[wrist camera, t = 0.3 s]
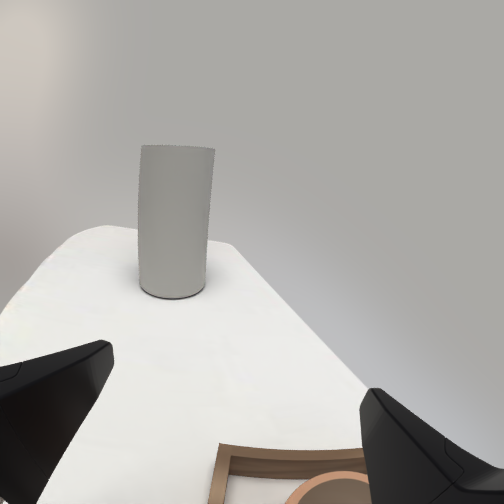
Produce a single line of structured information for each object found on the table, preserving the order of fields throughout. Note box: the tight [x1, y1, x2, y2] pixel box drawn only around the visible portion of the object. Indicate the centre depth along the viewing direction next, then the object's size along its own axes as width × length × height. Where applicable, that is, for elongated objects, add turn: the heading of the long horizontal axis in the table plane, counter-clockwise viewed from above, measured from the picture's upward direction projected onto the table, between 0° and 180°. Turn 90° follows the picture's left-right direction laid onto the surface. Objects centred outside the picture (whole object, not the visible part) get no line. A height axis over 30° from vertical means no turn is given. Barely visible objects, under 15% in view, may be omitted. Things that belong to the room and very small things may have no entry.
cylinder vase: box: [138, 145, 215, 298], centre depth 47 cm, size 12×12×25 cm
